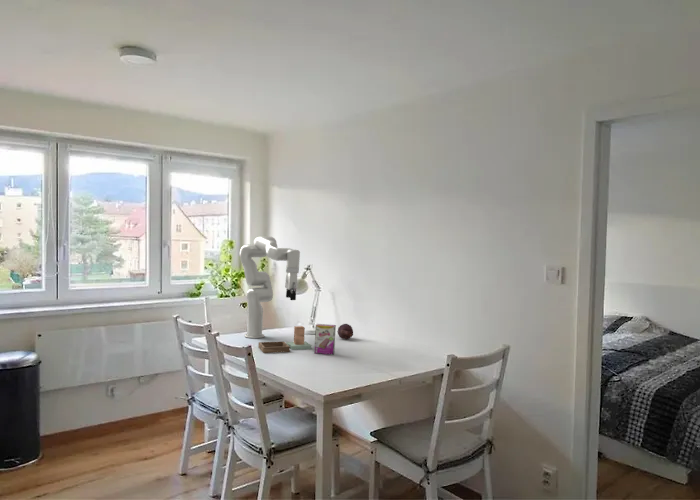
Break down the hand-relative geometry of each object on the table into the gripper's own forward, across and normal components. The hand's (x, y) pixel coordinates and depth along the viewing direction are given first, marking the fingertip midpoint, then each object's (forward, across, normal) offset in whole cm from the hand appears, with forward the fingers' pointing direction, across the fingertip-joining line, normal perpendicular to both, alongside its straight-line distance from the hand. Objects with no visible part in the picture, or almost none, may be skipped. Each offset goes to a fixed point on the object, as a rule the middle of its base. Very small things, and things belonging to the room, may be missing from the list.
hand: (290, 298), depth 313 cm
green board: (+28, +5, +5) cm, 29 cm away
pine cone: (+28, -13, +42) cm, 52 cm away
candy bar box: (+28, +24, +15) cm, 40 cm away
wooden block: (+26, +5, +5) cm, 27 cm away
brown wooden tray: (+28, +9, -11) cm, 31 cm away
